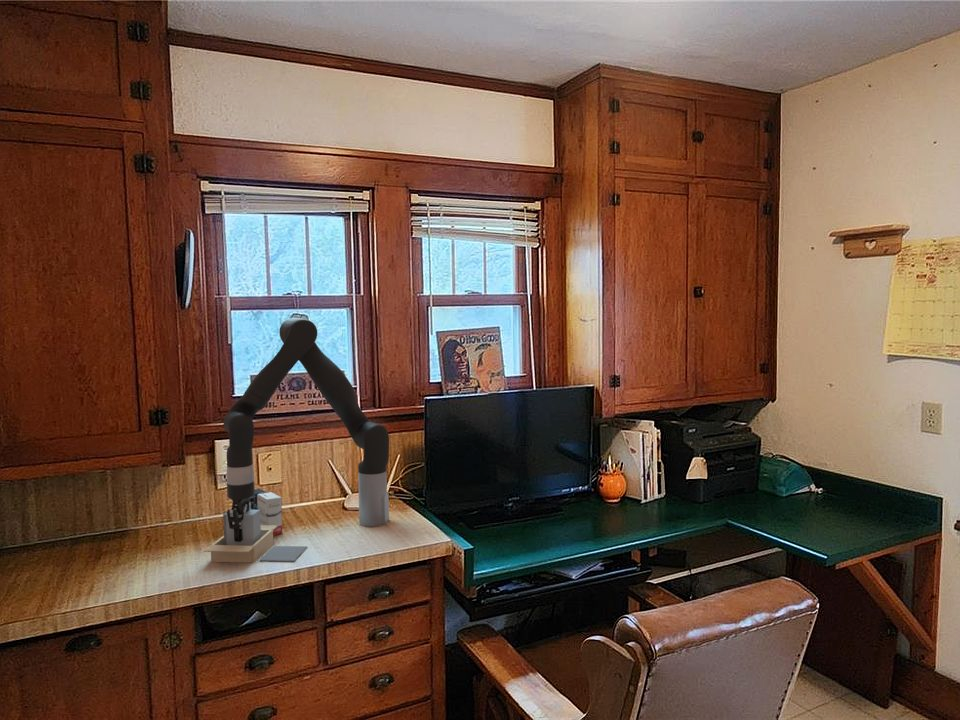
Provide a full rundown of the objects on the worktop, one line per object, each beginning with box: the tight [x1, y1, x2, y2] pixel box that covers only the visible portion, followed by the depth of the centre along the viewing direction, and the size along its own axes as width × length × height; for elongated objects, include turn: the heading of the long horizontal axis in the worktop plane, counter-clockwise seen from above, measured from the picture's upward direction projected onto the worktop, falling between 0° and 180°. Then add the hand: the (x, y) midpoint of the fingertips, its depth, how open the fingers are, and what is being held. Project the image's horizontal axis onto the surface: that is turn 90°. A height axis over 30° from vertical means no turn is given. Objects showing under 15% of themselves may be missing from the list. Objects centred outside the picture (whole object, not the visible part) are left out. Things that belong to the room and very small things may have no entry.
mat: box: [259, 545, 308, 563], centre depth 190 cm, size 10×11×1 cm
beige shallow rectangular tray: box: [203, 525, 278, 563], centre depth 192 cm, size 13×22×4 cm, turn 176°
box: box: [222, 510, 261, 546], centre depth 191 cm, size 9×5×12 cm, turn 86°
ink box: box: [257, 492, 283, 536], centre depth 209 cm, size 8×5×12 cm, turn 39°
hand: (242, 537), depth 191 cm, fingers closed on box, 5 cm apart
